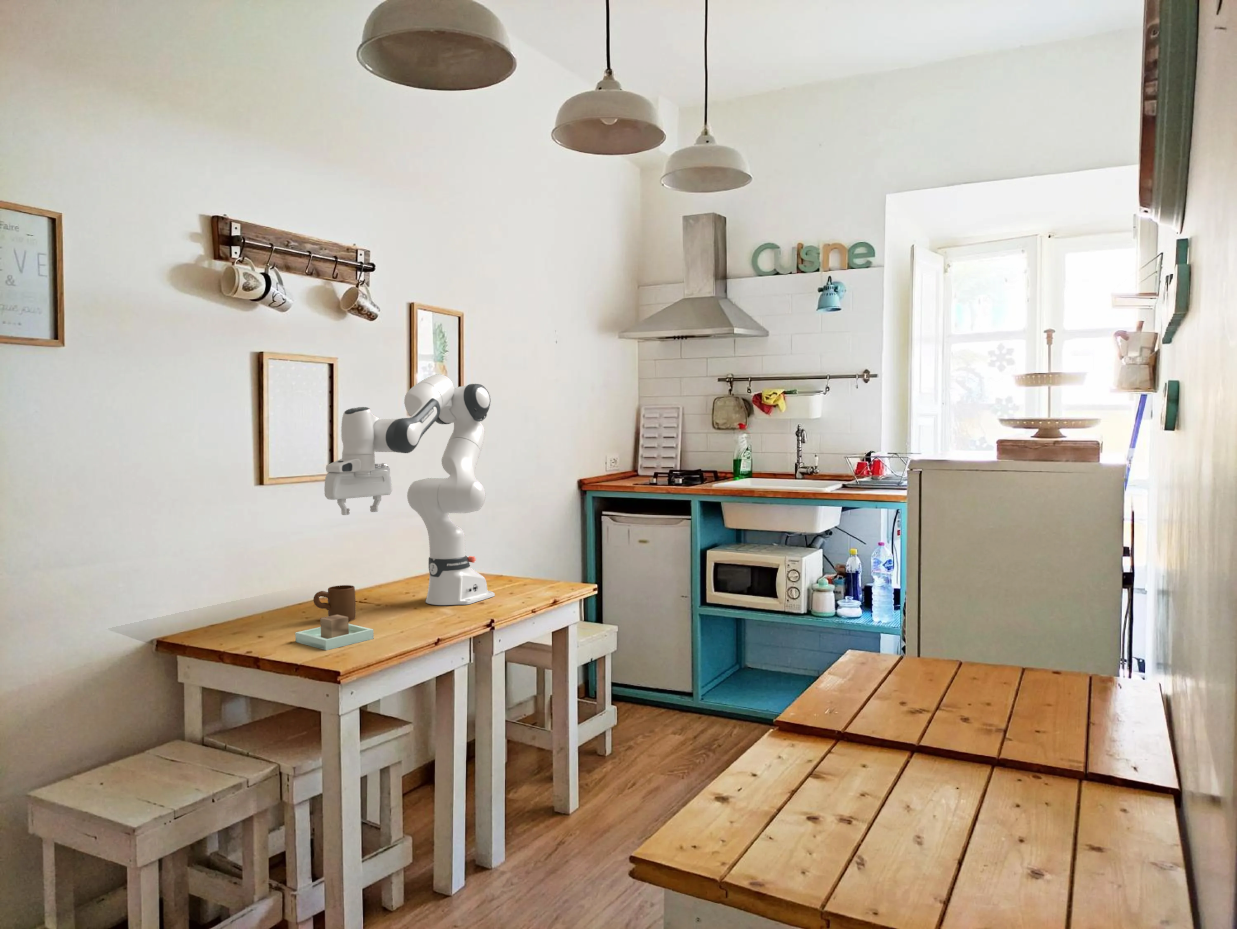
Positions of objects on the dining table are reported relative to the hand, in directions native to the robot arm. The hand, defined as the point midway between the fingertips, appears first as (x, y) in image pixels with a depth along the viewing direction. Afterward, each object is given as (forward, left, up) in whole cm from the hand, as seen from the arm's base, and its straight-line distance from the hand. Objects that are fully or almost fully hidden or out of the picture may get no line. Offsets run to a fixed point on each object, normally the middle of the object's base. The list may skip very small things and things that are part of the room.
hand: (360, 513), depth 243 cm
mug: (+4, -8, -31) cm, 33 cm away
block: (+17, +12, -30) cm, 37 cm away
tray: (+17, +12, -31) cm, 37 cm away
